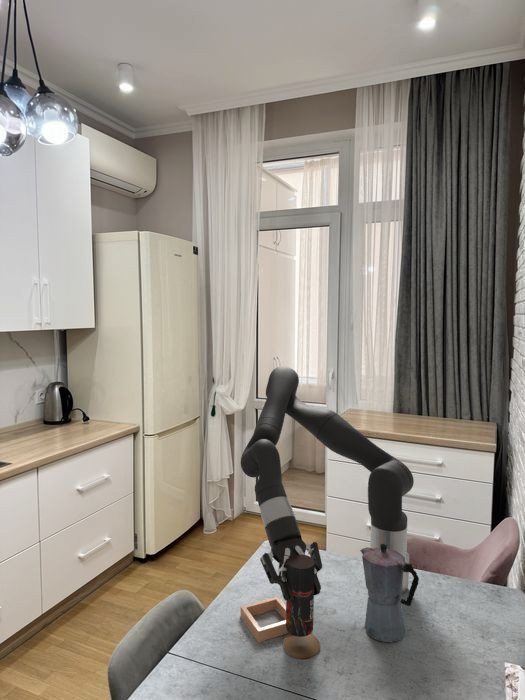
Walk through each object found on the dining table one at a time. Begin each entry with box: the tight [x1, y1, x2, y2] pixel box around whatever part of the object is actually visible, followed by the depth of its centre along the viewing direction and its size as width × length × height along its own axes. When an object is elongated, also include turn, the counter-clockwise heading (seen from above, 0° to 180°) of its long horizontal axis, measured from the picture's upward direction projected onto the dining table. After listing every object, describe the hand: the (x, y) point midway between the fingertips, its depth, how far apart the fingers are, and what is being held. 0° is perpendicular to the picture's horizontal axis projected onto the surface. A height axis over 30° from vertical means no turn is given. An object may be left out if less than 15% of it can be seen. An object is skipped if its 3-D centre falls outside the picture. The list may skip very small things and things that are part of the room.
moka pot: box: [359, 544, 420, 643], centre depth 109 cm, size 10×15×20 cm, turn 45°
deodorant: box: [285, 554, 315, 637], centre depth 104 cm, size 6×6×15 cm
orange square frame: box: [239, 595, 290, 643], centre depth 112 cm, size 10×10×2 cm
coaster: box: [282, 633, 321, 660], centre depth 104 cm, size 8×8×1 cm
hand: (304, 597), depth 102 cm, fingers closed on deodorant, 6 cm apart
